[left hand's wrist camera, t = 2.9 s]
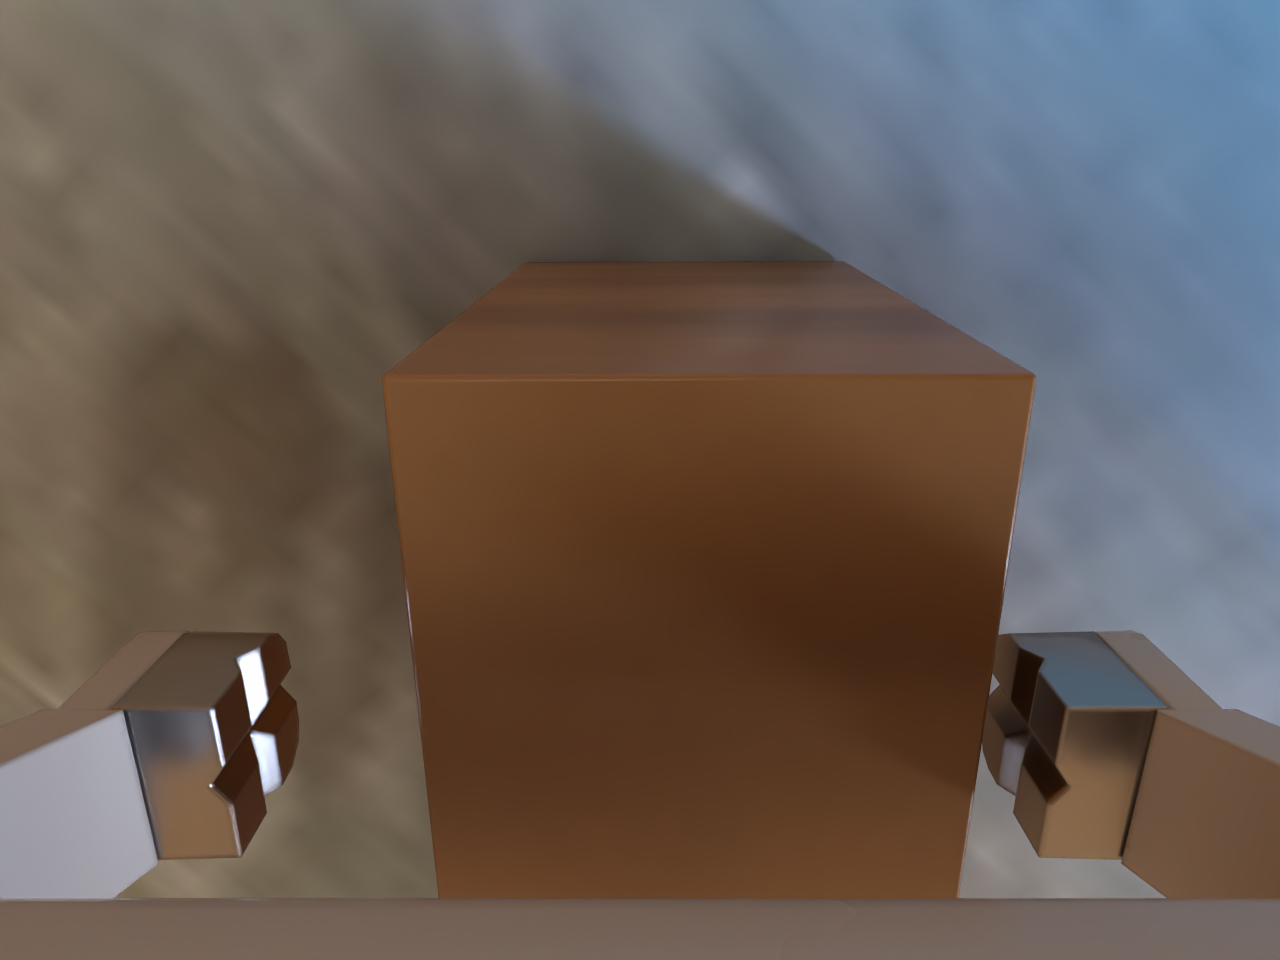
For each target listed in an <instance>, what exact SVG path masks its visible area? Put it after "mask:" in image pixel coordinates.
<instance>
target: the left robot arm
mask: <svg viewBox="0 0 1280 960" xmlns="http://www.w3.org/2000/svg"><path fill="white" fill-rule="evenodd" d="M290 669H291V665H290V660H289V655H288V649H287V644H286V641H285V640H284V639H283V638H282V637H281V636H280V635H279V633H247V632H189V631H152V632H143V633H138V634H137V635H136V636H135V637H134V638H133V639H132V640H131V641H130V642H129V643H128V644H126V645H125V646H124V647H123V648H122V649H121V650H120V651H119V652H118V653H117V654H116V655H115V656H114V657H113V658H112V659H110V660H109V661H108V662H107V663H106V664H105V665H104V666H103V667H102V668H101V669H100V670H99V671H98V672H97V673H96V674H94V675H93V676H92V677H91V678H90V679H89V680H88V681H87V682H86V683H85V684H84V685H83V686H82V687H81V688H79V689H78V690H77V691H76V692H75V693H74V694H73V695H72V696H71V697H70V698H69V699H68V700H67V701H66V702H65V703H63V704H62V705H61V706H60V707H59V708H58V709H42V710H40V711H38V712H35V713H33V714H30V715H28V716H26V717H23V718H21V719H18V720H16V721H14V722H11V723H9V724H6V725H4V726H2V727H0V960H1280V727H1278V726H1276V725H1274V724H1271V723H1269V722H1266V721H1264V720H1262V719H1259V718H1257V717H1254V716H1252V715H1250V714H1247V713H1245V712H1242V711H1240V710H1238V709H1222V708H1221V707H1220V706H1219V705H1218V704H1217V703H1216V702H1214V701H1213V700H1212V699H1211V698H1210V697H1209V696H1208V695H1207V694H1206V693H1205V692H1204V691H1203V690H1202V689H1201V688H1200V687H1198V686H1197V685H1196V684H1195V683H1194V682H1193V681H1192V680H1191V679H1190V678H1189V677H1188V676H1187V675H1186V674H1185V673H1184V672H1183V671H1181V670H1180V669H1179V668H1178V667H1177V666H1176V665H1175V664H1174V663H1173V662H1172V661H1171V660H1170V659H1169V658H1168V657H1167V656H1165V655H1164V654H1163V653H1162V652H1161V651H1160V650H1159V649H1158V648H1157V647H1156V646H1155V645H1154V644H1153V643H1152V642H1151V641H1150V640H1148V639H1147V638H1146V637H1145V636H1144V635H1143V634H1141V633H1138V632H1134V631H1131V630H1128V631H1104V632H1053V633H1012V634H1002V635H998V638H997V645H996V651H995V658H994V665H993V671H992V673H993V675H994V676H995V678H996V679H997V681H998V682H999V684H1000V685H999V686H998V687H997V688H996V689H995V690H994V691H993V692H992V693H991V694H990V695H989V698H988V704H987V711H986V718H985V724H984V731H983V738H982V746H983V753H984V756H985V759H986V762H987V765H988V769H989V770H990V772H991V774H992V776H993V778H994V780H995V781H996V783H997V785H999V786H1000V787H1002V788H1004V789H1005V790H1007V791H1008V792H1010V793H1011V794H1013V795H1015V796H1016V798H1015V804H1014V810H1013V813H1014V815H1015V817H1016V818H1017V820H1018V822H1019V824H1020V825H1021V827H1022V829H1023V831H1024V832H1025V834H1026V836H1027V837H1028V839H1029V841H1030V843H1031V844H1032V846H1033V848H1034V850H1035V851H1036V853H1037V855H1038V856H1039V858H1076V859H1112V860H1122V862H1121V864H1123V865H1124V866H1125V867H1127V868H1128V869H1129V870H1131V871H1132V872H1133V873H1135V874H1136V875H1137V876H1139V877H1140V878H1141V879H1143V880H1144V881H1145V882H1147V883H1148V884H1149V885H1150V886H1152V887H1153V888H1154V889H1156V890H1157V891H1158V892H1160V893H1161V894H1162V895H1164V896H1165V897H1166V898H793V899H792V898H789V899H787V898H785V899H784V898H781V899H779V898H777V899H775V898H773V899H772V898H769V899H767V898H765V899H763V898H761V899H758V898H757V899H755V898H753V899H750V898H749V899H747V898H745V899H742V898H741V899H738V898H737V899H508V898H114V897H115V896H117V895H118V894H119V893H121V892H122V891H123V890H125V889H126V888H127V887H128V886H130V885H131V884H132V883H134V882H135V881H136V880H138V879H139V878H140V877H142V876H143V875H144V874H146V873H147V872H148V871H150V870H151V869H152V868H154V867H155V866H156V865H158V860H167V859H203V858H238V857H242V855H243V853H244V851H245V850H246V848H247V846H248V844H249V843H250V841H251V839H252V838H253V836H254V834H255V832H256V831H257V829H258V827H259V825H260V824H261V822H262V820H263V818H264V817H265V815H266V813H267V810H266V804H265V798H264V796H265V795H267V794H269V793H270V792H272V791H273V790H275V789H276V788H278V787H280V786H281V785H283V783H284V781H285V780H286V778H287V776H288V774H289V772H290V770H291V768H292V766H293V762H294V758H295V754H296V750H297V746H298V742H299V717H298V710H297V703H296V701H295V700H294V699H293V698H292V696H291V695H290V694H289V693H288V692H287V691H286V690H285V689H284V688H283V687H282V686H281V685H280V684H281V682H282V681H283V679H284V678H285V676H286V675H287V673H288V672H289V670H290Z"/></svg>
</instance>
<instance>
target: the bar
mask: <svg viewBox="0 0 1280 960" xmlns="http://www.w3.org/2000/svg"><path fill="white" fill-rule="evenodd" d="M1035 385H1036V377H1035V374H1033V373H1031V372H1030V371H1028V370H1026V369H1025V368H1023V367H1021V366H1019V365H1018V364H1016V363H1014V362H1013V361H1011V360H1009V359H1008V358H1006V357H1004V356H1003V355H1001V354H999V353H997V352H996V351H994V350H992V349H991V348H989V347H987V346H986V345H984V344H982V343H981V342H979V341H977V340H975V339H974V338H972V337H970V336H969V335H967V334H965V333H964V332H962V331H960V330H959V329H957V328H955V327H954V326H952V325H950V324H948V323H947V322H945V321H943V320H942V319H940V318H938V317H937V316H935V315H933V314H932V313H930V312H928V311H926V310H925V309H923V308H921V307H920V306H918V305H916V304H915V303H913V302H911V301H910V300H908V299H906V298H904V297H903V296H901V295H899V294H898V293H896V292H894V291H893V290H891V289H889V288H888V287H886V286H884V285H883V284H881V283H879V282H877V281H876V280H874V279H872V278H871V277H869V276H867V275H866V274H864V273H862V272H861V271H859V270H857V269H855V268H854V267H852V266H850V265H849V264H847V263H845V262H843V261H816V262H604V263H525V264H523V265H522V266H520V267H519V268H518V269H517V270H515V271H514V272H513V273H512V274H510V275H509V276H508V277H507V278H505V279H504V280H503V281H502V282H500V283H499V284H498V285H497V286H495V287H494V288H493V289H492V290H490V291H489V292H488V293H487V294H485V295H484V296H483V297H481V298H480V299H479V300H478V301H476V302H475V303H474V304H473V305H471V306H470V307H469V308H468V309H466V310H465V311H464V312H463V313H461V314H460V315H459V316H458V317H456V318H455V319H454V320H453V321H451V322H450V323H449V324H448V325H446V326H445V327H444V328H443V329H441V330H440V331H439V332H438V333H436V334H435V335H434V336H433V337H431V338H430V339H429V340H428V341H426V342H425V343H424V344H423V345H421V346H420V347H419V348H418V349H416V350H415V351H414V352H413V353H411V354H410V355H409V356H407V357H406V358H405V359H404V360H402V361H401V362H400V363H399V364H397V365H396V366H395V367H394V368H392V369H391V370H390V371H389V372H387V373H386V374H385V375H384V376H383V378H382V386H383V395H384V404H385V413H386V422H387V431H388V440H389V449H390V458H391V468H392V477H393V486H394V495H395V504H396V513H397V522H398V531H399V540H400V549H401V559H402V568H403V577H404V586H405V595H406V604H407V613H408V622H409V631H410V640H411V650H412V659H413V668H414V677H415V686H416V695H417V704H418V713H419V722H420V731H421V741H422V750H423V759H424V768H425V777H426V786H427V795H428V804H429V813H430V822H431V832H432V841H433V850H434V859H435V868H436V877H437V886H438V895H439V898H508V899H737V898H738V899H741V898H742V899H745V898H747V899H749V898H750V899H753V898H755V899H757V898H758V899H761V898H763V899H765V898H767V899H769V898H772V899H773V898H775V899H777V898H779V899H781V898H784V899H785V898H787V899H789V898H792V899H793V898H959V891H960V884H961V878H962V871H963V864H964V858H965V851H966V844H967V838H968V831H969V824H970V818H971V811H972V804H973V798H974V791H975V784H976V778H977V771H978V764H979V758H980V751H981V744H982V738H983V731H984V724H985V718H986V711H987V704H988V698H989V691H990V685H991V678H992V671H993V665H994V658H995V651H996V645H997V638H998V631H999V625H1000V618H1001V611H1002V605H1003V598H1004V591H1005V585H1006V578H1007V571H1008V565H1009V558H1010V551H1011V545H1012V538H1013V531H1014V525H1015V518H1016V511H1017V505H1018V498H1019V491H1020V485H1021V478H1022V471H1023V465H1024V458H1025V451H1026V445H1027V438H1028V431H1029V425H1030V418H1031V411H1032V405H1033V398H1034V391H1035Z"/></svg>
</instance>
